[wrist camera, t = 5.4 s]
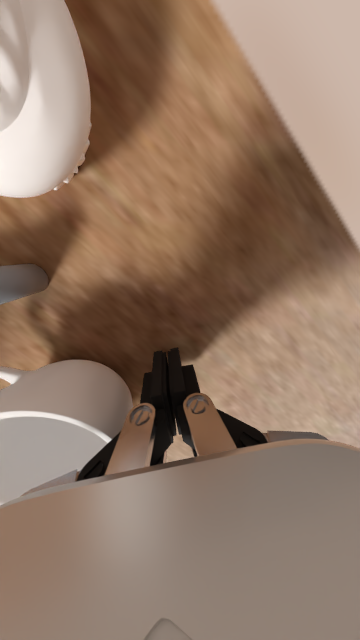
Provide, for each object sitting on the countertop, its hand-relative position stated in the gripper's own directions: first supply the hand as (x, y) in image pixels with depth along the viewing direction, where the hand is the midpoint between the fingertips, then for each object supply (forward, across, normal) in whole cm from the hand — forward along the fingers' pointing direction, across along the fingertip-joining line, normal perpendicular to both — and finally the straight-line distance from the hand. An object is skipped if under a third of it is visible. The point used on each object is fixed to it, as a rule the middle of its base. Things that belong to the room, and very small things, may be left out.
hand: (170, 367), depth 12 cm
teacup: (+1, +7, 0) cm, 7 cm away
